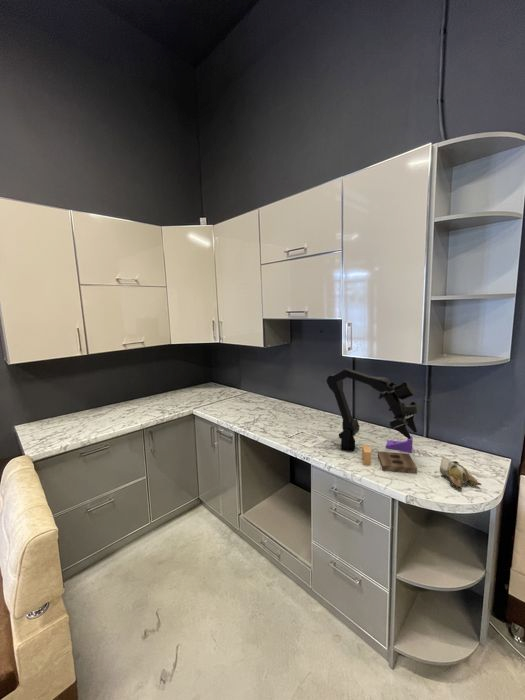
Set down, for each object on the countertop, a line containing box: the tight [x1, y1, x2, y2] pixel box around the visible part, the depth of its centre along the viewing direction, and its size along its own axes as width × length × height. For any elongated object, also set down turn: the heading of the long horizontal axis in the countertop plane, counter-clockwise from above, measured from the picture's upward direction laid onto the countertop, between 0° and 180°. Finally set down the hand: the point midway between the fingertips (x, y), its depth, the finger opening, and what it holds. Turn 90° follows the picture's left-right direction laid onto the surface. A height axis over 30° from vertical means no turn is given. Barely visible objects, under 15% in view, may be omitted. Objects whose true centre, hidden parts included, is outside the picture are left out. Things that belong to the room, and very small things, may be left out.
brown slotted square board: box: [377, 451, 418, 474], centre depth 141 cm, size 14×14×2 cm
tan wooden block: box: [361, 444, 372, 466], centre depth 144 cm, size 3×8×6 cm, turn 168°
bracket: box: [385, 435, 414, 454], centre depth 157 cm, size 12×7×7 cm, turn 61°
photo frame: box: [284, 430, 328, 449], centre depth 171 cm, size 15×1×18 cm
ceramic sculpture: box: [439, 456, 482, 489], centre depth 126 cm, size 11×9×15 cm
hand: (413, 435), depth 136 cm, fingers open, 9 cm apart
